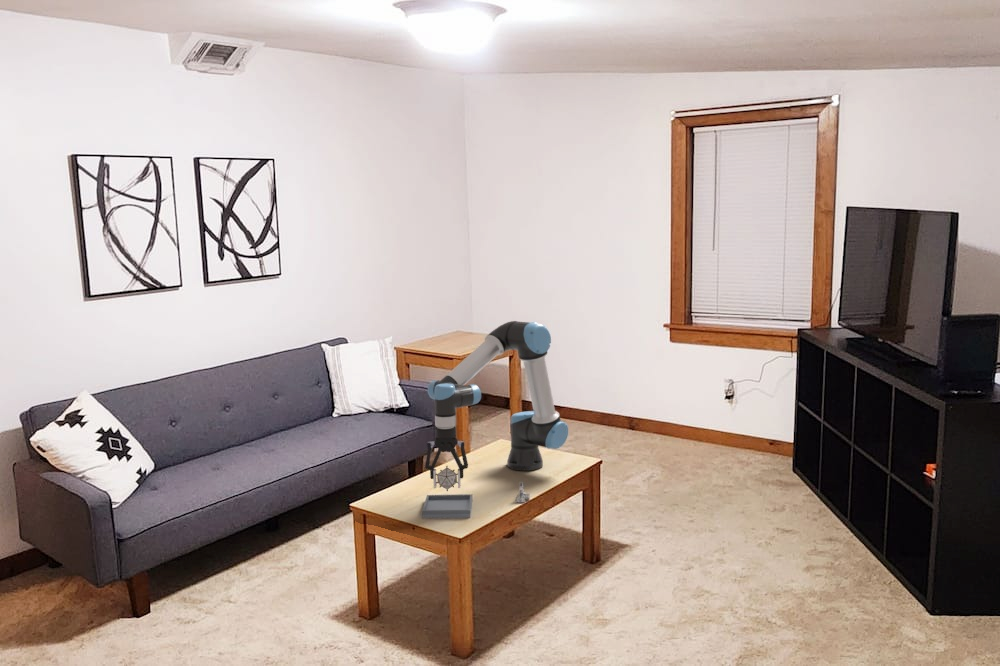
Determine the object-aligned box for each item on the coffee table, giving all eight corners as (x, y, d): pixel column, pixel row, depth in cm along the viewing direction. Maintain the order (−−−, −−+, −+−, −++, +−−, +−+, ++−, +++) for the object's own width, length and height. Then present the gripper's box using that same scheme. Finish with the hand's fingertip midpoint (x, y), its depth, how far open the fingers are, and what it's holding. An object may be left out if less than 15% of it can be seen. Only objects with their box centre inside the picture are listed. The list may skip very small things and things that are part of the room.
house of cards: (537, 506, 307) (537, 486, 306) (514, 506, 308) (514, 486, 307) (539, 498, 316) (539, 479, 315) (516, 498, 317) (516, 479, 316)
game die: (455, 486, 309) (455, 460, 308) (462, 493, 301) (461, 467, 300) (432, 489, 306) (432, 463, 305) (438, 496, 298) (437, 469, 297)
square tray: (472, 501, 313) (472, 494, 313) (470, 518, 296) (470, 510, 296) (427, 502, 314) (427, 495, 313) (422, 518, 296) (421, 510, 296)
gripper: (475, 423, 304) (476, 483, 307) (417, 424, 305) (419, 484, 308) (474, 428, 297) (475, 489, 300) (415, 429, 297) (417, 490, 300)
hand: (447, 486), depth 304 cm, fingers closed on game die, 8 cm apart
